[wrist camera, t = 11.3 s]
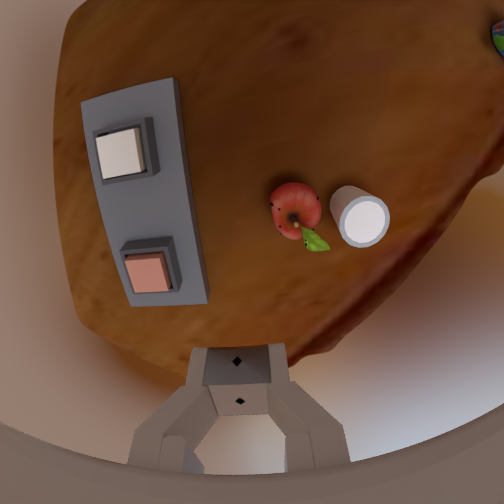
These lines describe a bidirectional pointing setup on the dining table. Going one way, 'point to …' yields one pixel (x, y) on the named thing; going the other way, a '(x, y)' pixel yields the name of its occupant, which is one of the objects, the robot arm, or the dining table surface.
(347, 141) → the dining table surface
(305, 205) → the apple
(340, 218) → the white short cylinder
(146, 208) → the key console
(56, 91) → the dining table surface
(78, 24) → the dining table surface
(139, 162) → the key ivory
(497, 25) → the snack cup
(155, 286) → the key brick
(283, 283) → the dining table surface
